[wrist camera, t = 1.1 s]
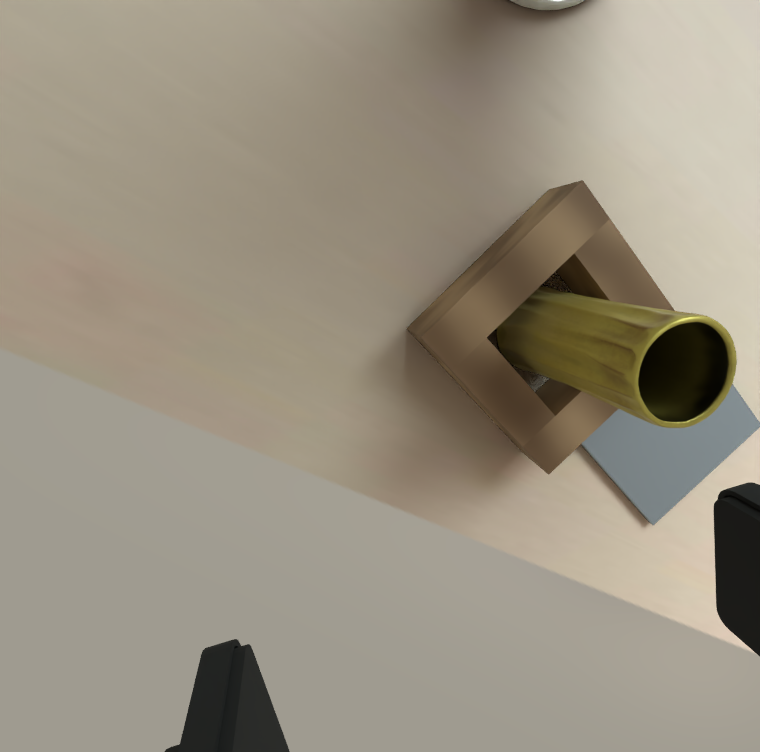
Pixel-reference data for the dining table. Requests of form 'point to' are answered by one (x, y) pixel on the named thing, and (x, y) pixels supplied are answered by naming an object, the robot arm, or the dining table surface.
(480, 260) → the collar
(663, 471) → the mat
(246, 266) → the dining table surface
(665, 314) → the vase
